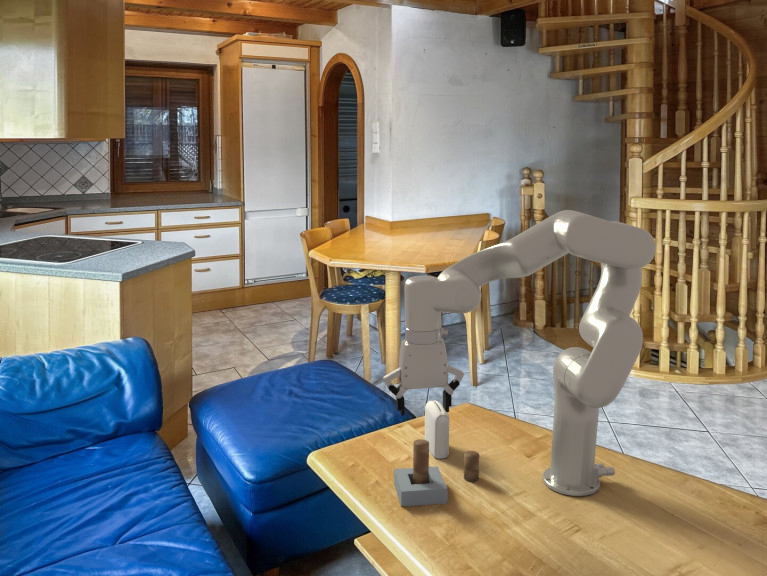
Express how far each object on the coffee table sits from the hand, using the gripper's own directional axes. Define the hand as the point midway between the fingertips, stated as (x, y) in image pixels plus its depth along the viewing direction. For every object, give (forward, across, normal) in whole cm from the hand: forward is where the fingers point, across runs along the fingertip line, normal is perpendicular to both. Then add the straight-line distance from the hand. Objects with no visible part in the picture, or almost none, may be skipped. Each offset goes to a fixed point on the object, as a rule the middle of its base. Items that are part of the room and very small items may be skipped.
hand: (424, 411), depth 146 cm
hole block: (+19, +1, 0) cm, 19 cm away
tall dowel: (+19, +1, 0) cm, 19 cm away
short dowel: (+20, -12, -5) cm, 23 cm away
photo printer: (+20, -7, -20) cm, 29 cm away
